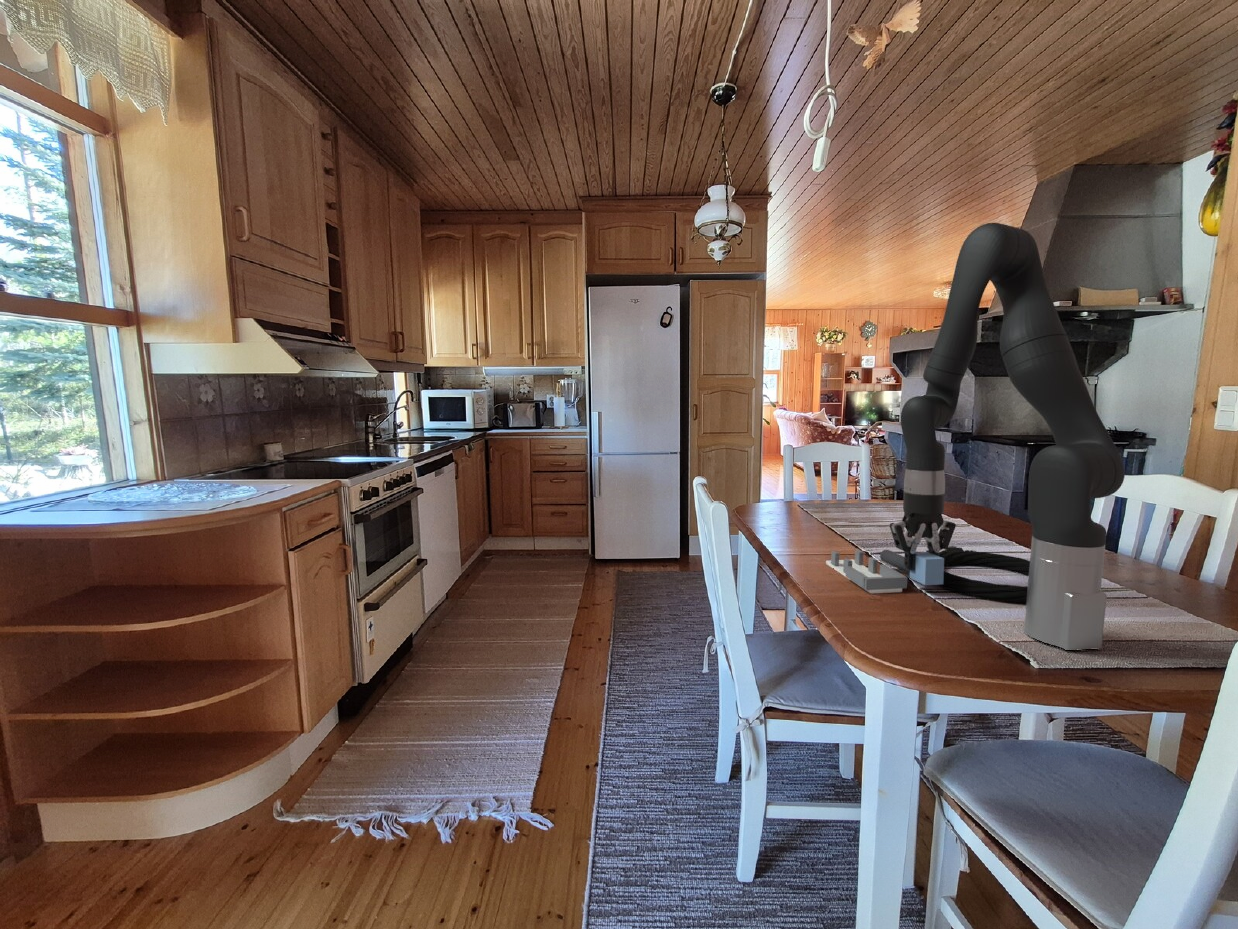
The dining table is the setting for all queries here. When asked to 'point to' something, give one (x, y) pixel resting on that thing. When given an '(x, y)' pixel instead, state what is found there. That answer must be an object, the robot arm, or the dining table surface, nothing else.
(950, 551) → the cable lock
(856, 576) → the rail
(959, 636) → the dining table surface
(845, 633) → the dining table surface
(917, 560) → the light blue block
